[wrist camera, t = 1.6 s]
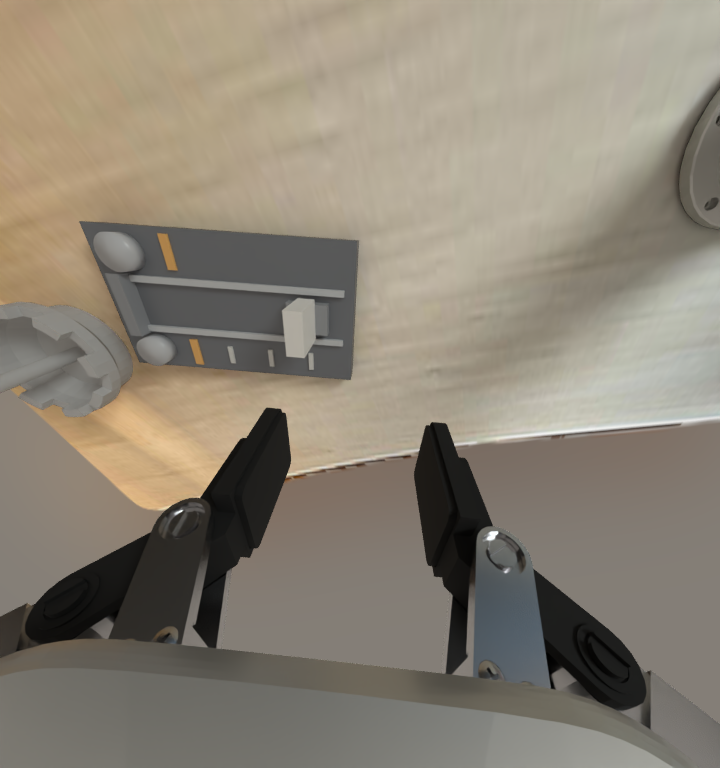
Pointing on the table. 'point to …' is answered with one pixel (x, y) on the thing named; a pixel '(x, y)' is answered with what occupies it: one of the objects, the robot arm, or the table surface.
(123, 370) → the flag stand
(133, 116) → the table surface
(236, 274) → the console
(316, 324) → the fader tab
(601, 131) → the table surface
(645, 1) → the table surface
